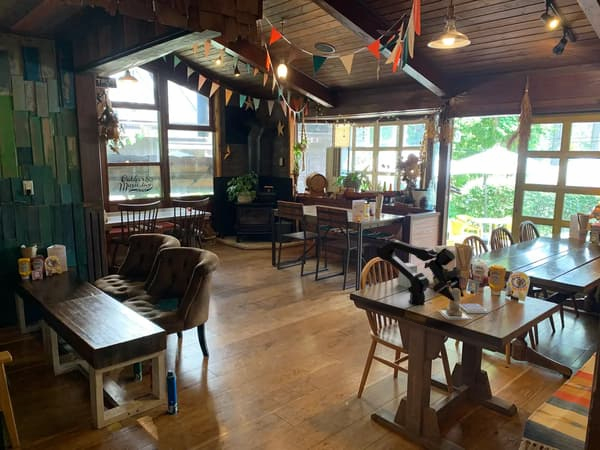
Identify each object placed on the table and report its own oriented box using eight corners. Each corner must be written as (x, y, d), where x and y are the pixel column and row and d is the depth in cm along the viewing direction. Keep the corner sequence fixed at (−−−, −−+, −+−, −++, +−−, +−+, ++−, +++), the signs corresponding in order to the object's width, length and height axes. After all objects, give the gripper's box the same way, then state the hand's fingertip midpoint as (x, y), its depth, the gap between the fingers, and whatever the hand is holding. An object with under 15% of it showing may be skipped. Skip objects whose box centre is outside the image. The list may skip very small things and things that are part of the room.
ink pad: (467, 313, 210) (467, 310, 210) (458, 306, 220) (458, 303, 220) (487, 313, 211) (487, 310, 211) (477, 306, 221) (477, 303, 221)
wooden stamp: (448, 315, 206) (451, 289, 204) (446, 311, 212) (448, 286, 210) (462, 316, 205) (464, 290, 203) (458, 312, 211) (461, 286, 209)
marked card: (447, 319, 202) (447, 318, 202) (437, 310, 214) (437, 309, 214) (472, 319, 203) (472, 318, 203) (460, 310, 215) (460, 309, 215)
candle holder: (425, 285, 255) (428, 250, 251) (440, 284, 256) (442, 250, 252) (431, 289, 246) (434, 254, 243) (446, 289, 247) (449, 254, 244)
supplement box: (406, 288, 247) (407, 266, 245) (397, 284, 254) (399, 263, 252) (416, 286, 251) (417, 265, 249) (407, 283, 257) (409, 262, 255)
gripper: (441, 265, 200) (462, 294, 195) (459, 258, 214) (480, 285, 208) (424, 277, 207) (444, 306, 201) (443, 271, 220) (462, 297, 214)
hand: (458, 298), depth 206 cm, fingers open, 9 cm apart
